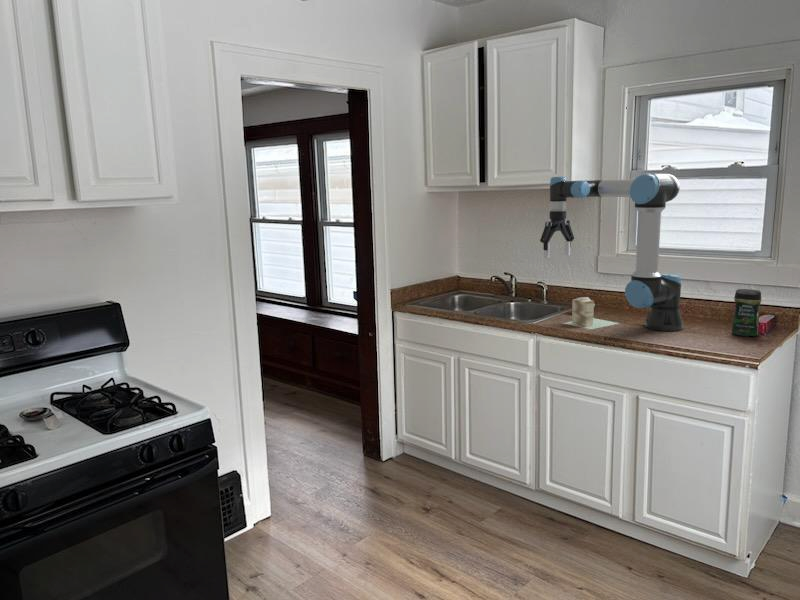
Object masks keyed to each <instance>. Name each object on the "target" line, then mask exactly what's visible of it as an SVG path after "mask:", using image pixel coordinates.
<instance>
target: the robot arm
mask: <svg viewBox="0 0 800 600" xmlns="http://www.w3.org/2000/svg"><path fill="white" fill-rule="evenodd" d="M564 181H565V182H564ZM679 193H680V181H679V180H678V178H677V177H676V176H675V175H674V174H673V175H672V174H671V173H646V174H645V173H644V174H640V175H639V176H636V178H635V179H633V178H632V179H630V178H629V179H603V180H602V179H601V180H600V179H594V180H592V179H591V180H568V177H566V176H553V177H551V178H550V183H549V210H550V211H549V219H550V221H545V223H544V229H543V232H542V234H541V236H540V239H539V241H540V243H541V244H542V245H543V248H542V249H543V257H544V258H548V259H549V258H550V248H551V247H550V245H551V244H550V241H551V239H552V238H553V236H554V234H555V233H556V232H559V231H560V233H561V234H562V236H563V238H564V239H565V241H564V256H571V246H572V243H571V242H573V241H574V240H575V236H574V232H573V230H572V227H571V221H570V220H567V211H566V210H567V199H569V198H571V199H573V198H574V199H575V198H576V199H583V198H604V197H605V198H631V199H632V200H631V201H632V202H634V209H635V210H636V211H637V212H638V213H637V231H636V232H637V236H636V237H637V238H636V254H635V255H636V256H635V270H634V271H633V272H632V273H631V274H630V275H631V280H630V281H629V282H628V283H627V284H626V286H625V289H624V295H625V298H626V300H627V302H628V303H629V304H630V305H631V306H633V307H634V308H637V309H647V308H649V311H648V314H647V316H646V319H645V321H644V327H645V328H646V329H649V330H653V331H663V332H672V331H673V332H675V331H676V332H677V331H681V330H683V329H684V322H683V318H682V315H681V311H680V306H681V290H682V278H681V277H680V275H678V274H669V273H660V272H659V260H660V259H659V258H660V256H659V255H660V242H661V241H660V239H661V223H662V221H661V220H662V212H663V211H664V210H665V209H666V207H667V206H666V203H668V202H671V201H673V200H674V199H675V198H677V196H678V195H679Z"/></svg>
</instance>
